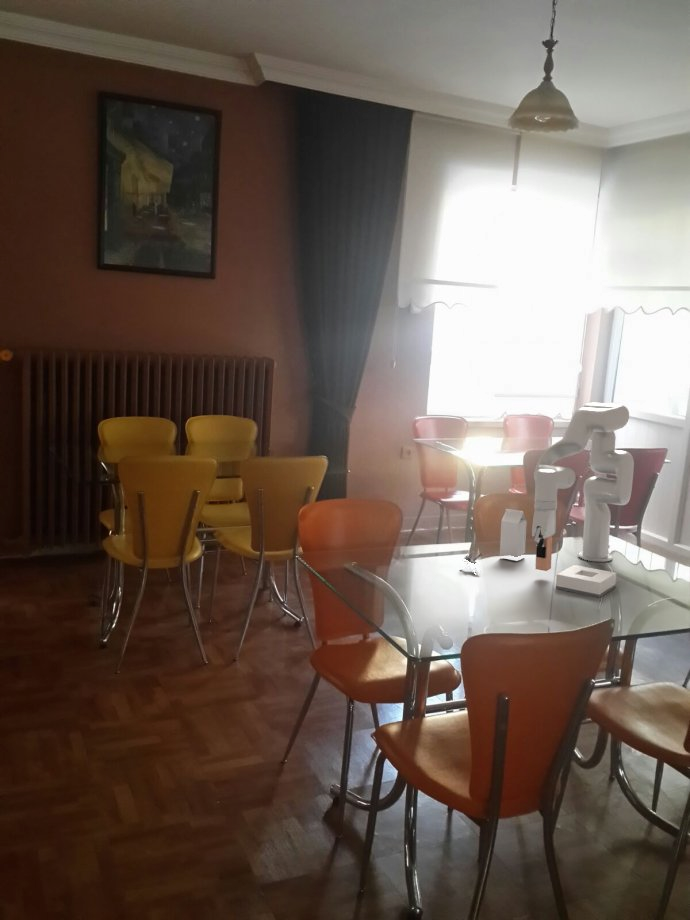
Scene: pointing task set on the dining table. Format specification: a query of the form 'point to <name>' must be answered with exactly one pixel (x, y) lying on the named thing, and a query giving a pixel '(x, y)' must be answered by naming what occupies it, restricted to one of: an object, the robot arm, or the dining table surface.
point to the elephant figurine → (472, 559)
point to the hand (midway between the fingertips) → (543, 555)
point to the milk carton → (513, 533)
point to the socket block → (586, 580)
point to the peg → (546, 562)
